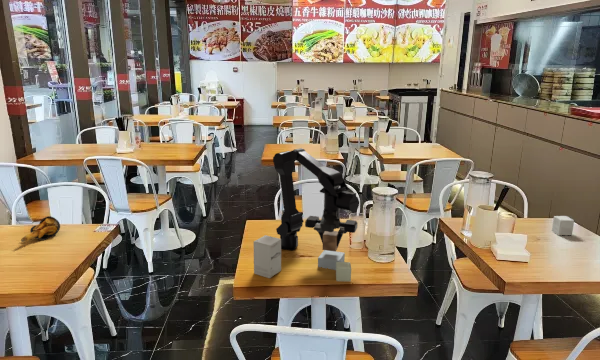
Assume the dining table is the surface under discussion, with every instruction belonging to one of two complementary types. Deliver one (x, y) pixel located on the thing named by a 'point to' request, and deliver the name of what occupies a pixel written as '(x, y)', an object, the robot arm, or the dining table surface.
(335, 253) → the slate plinth
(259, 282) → the dining table surface
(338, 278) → the sage block
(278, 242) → the supplement box
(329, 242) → the walnut block
